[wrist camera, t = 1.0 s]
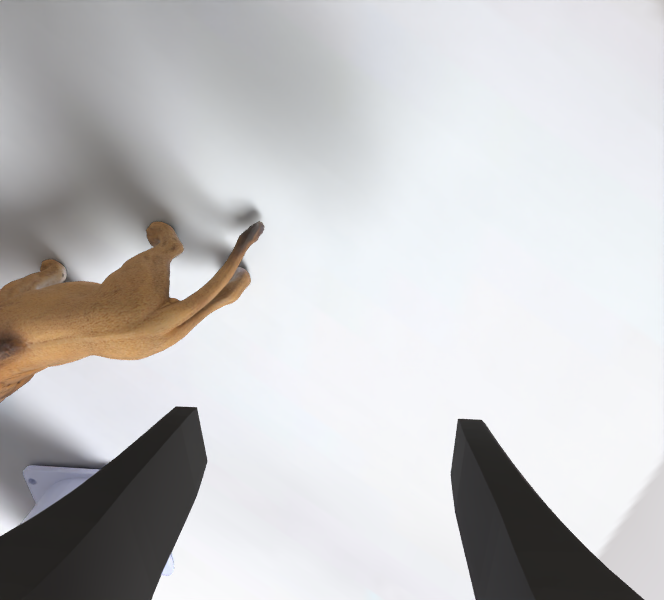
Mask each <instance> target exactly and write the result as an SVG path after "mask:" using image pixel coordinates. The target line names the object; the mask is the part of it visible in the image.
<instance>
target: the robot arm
mask: <svg viewBox="0 0 664 600" xmlns="http://www.w3.org/2000/svg"><path fill="white" fill-rule="evenodd" d="M206 464H207V457H206V451H205V446H204V441H203V436H202V431H201V426H200V421H199V416H198V411H197V407H175V408H174V409H172V410H171V411H170V412H169V413H168V414H166V415H165V416H164V417H163V418H162V419H161V420H159V421H158V422H157V423H156V424H155V425H154V426H153V427H151V428H150V429H149V430H148V431H147V432H146V433H144V434H143V435H142V436H141V437H140V438H139V439H137V440H136V441H135V442H134V443H133V444H131V445H130V446H129V447H128V448H127V449H125V450H124V451H123V452H122V453H121V454H120V455H118V456H117V457H116V458H115V459H113V460H112V461H111V462H109V463H108V464H107V465H106V466H104V467H103V468H102V469H85V468H68V467H51V466H34V465H30V466H27V467H26V468H25V469H24V470H23V472H22V473H23V476H24V479H25V481H26V483H27V485H28V488H29V490H30V492H31V494H32V497H33V499H34V501H35V503H36V505H35V506H34V507H33V509H32V510H31V511H30V513H29V514H28V515H27V516H26V518H25V519H24V520H23V521H22V523H21V524H20V525H19V526H17V527H15V528H14V529H12V530H10V531H9V532H7V533H5V534H4V535H2V536H0V600H151V599H152V597H153V594H154V591H155V589H156V586H157V584H158V582H159V579H160V577H161V575H165V576H169V575H171V574H172V573H173V571H174V564H173V561H172V557H171V552H172V550H173V548H174V546H175V543H176V541H177V539H178V537H179V535H180V532H181V530H182V528H183V526H184V524H185V521H186V519H187V517H188V515H189V512H190V510H191V508H192V506H193V503H194V501H195V499H196V496H197V493H198V490H199V487H200V484H201V481H202V478H203V474H204V471H205V468H206ZM451 482H452V491H453V499H454V507H455V514H456V518H457V523H458V527H459V531H460V535H461V540H462V544H463V548H464V552H465V557H466V561H467V565H468V569H469V573H470V578H471V582H472V586H473V590H474V595H475V599H476V600H644V599H643V598H642V597H640V596H639V595H638V594H637V593H636V592H635V591H634V590H632V589H631V588H630V587H629V586H628V585H627V584H626V583H624V582H623V581H622V580H621V579H620V578H619V577H618V576H616V575H615V574H614V573H613V572H612V571H611V570H609V569H608V568H607V567H606V566H605V565H604V564H603V563H602V562H601V561H600V560H599V559H598V558H597V557H596V556H595V555H594V554H593V553H591V552H590V551H589V550H588V549H587V548H586V547H585V546H584V545H583V544H582V542H581V541H580V540H579V539H578V538H577V537H576V536H575V535H574V534H573V533H572V532H571V531H570V530H569V529H568V528H567V527H566V526H565V525H564V524H563V523H562V522H561V521H560V519H559V518H558V517H557V516H556V515H555V514H554V513H553V512H552V510H551V509H550V508H549V507H548V506H547V505H546V504H545V502H544V501H543V500H542V499H541V498H540V497H539V495H538V494H537V493H536V492H535V491H534V489H533V488H532V487H531V486H530V484H529V483H528V482H527V481H526V479H525V478H524V477H523V476H522V474H521V473H520V472H519V470H518V469H517V468H516V467H515V465H514V464H513V463H512V461H511V460H510V459H509V457H508V456H507V454H506V453H505V452H504V450H503V449H502V448H501V446H500V445H499V443H498V442H497V440H496V439H495V438H494V436H493V435H492V433H491V432H490V430H489V429H488V427H487V426H486V424H485V423H484V422H483V421H482V420H473V419H458V423H457V430H456V438H455V445H454V453H453V461H452V468H451Z"/></svg>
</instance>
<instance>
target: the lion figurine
mask: <svg viewBox="0 0 664 600" xmlns="http://www.w3.org/2000/svg"><path fill="white" fill-rule="evenodd" d="M263 231H264V225H263V223H262V222H260V221H259V222H257V223H255V224H253V225H252V226H250V227H249V228H248V229H247V230H245V231H244V232H243V233H242V234H241V235H240V236H239V238H238V240H237V243H236V245H235V247H234V249H233V251H232V252H231V254H230V256H229V258H228V259H227V261H226V262H225V264H224V265H223V266H222V268H221V269H220V270H219V271H218V272H217V273H216V274H215V275H214V277H213V278H212V279H211V280H210V281H209V282H207V283H206V284H205V285H204V286H203V287H202V288H200V289H199V290H198V291H196V292H195V293H194V294H192V295H191V296H189V297H188V298H186V299H184V300H182V301H179V300H178V299H176V298H170V297H169V285H170V281H169V277H170V262H171V261H172V259H173V258H175V257H177V256H178V255H180V254H181V253H182V252H183V251H184V248H183V245H182V243H181V242H180V240H179V238H178V237H177V235H176V233H175V231H174V229H173V228H172V227H171V226H169V225H168V224H166V223H163V222H153V223H151V224H150V226H149V227H148V228H147V230H146V232H147V238H148V240H149V242H150V244H151V245H152V246H153V248H151V249H149V250H147V251H144V252H142V253H140V254H138V255H136V256H134V257H132V258H131V259H129V260H128V261H126V262H125V263H124V264H123V265H122V267H121V268H119V269H118V270H116V271H115V272H113V273H112V274H110V275H109V276H108V277H107V278H106V279H105V280H104V282H103V283H102V284H99V283H94V282H86V281H75V282H65V283H62V282H63V281H64V280H65V279H66V277H67V273H66V268H65V267H64V266H63V265H62V264H60V263H59V262H57V261H55V260H53V259H48V260H45V261H43V262H42V265H41V268H40V271H41V272H37V273H33V274H30V275H28V276H26V277H24V278H21V279H18V280H15V281H12V282H10V283H8V284H6V285H5V286H4V287H3V288H2V289H1V290H0V403H1V402H2V401H3V400H4V399H5V398H6V397H8V396H9V395H11V394H12V393H14V392H15V391H16V390H18V389H19V388H20V387H22V386H23V385H24V384H26V383H27V382H28V381H30V379H31V378H32V377H33V376H34V374H35V373H37V372H39V371H41V370H43V369H45V368H47V367H50V366H57V365H62V364H66V363H70V362H73V361H77V360H79V359H82V358H84V357H87V356H90V355H97V356H102V357H106V358H110V359H120V360H138V359H142V358H145V357H148V356H151V355H153V354H156V353H158V352H161V351H163V350H165V349H167V348H169V347H170V346H172V345H174V344H175V343H177V342H178V341H179V340H181V339H182V338H184V337H185V336H186V335H187V334H188V333H189V332H190V331H191V330H192V329H193V328H194V327H195V326H196V325H197V324H198V323H199V322H200V321H202V320H203V319H204V318H205V317H206V316H207V315H209V314H210V313H212V312H213V311H215V310H217V309H219V308H221V307H223V306H225V305H228V304H231V303H233V302H235V301H236V300H237V299H238V298H239V297H240V295H241V294H242V292H243V291H244V290H245V288H246V287H247V286H248V285H249V284H250V282H251V279H250V275H249V273H248V272H247V270H245V269H244V268H242V267H238V266H239V264H240V262H241V260H242V258H243V256H244V254H245V252H246V251H247V249H248V248H249V247H250V245H252V244H253V243H254V242H256V241H257V240H258V238H259V236H260V235H261V234H262V233H263Z"/></svg>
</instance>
